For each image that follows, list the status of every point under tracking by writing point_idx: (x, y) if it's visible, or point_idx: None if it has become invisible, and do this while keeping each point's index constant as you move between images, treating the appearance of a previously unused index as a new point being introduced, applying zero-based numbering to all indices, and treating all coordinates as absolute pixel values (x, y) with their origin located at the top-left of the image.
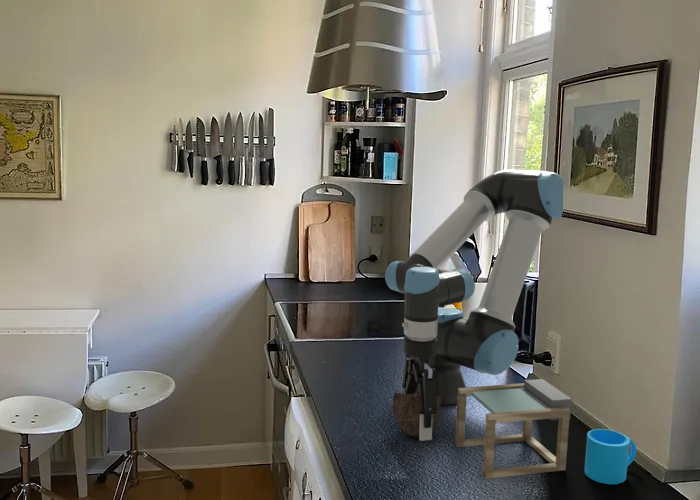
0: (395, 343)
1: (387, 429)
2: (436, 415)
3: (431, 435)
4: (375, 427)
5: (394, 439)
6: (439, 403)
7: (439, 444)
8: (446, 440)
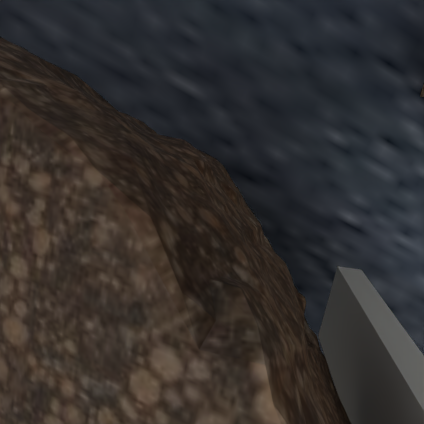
0: None
1: None
2: (242, 210)
3: (372, 289)
4: None
5: None
6: (212, 208)
7: (363, 201)
8: (331, 123)
